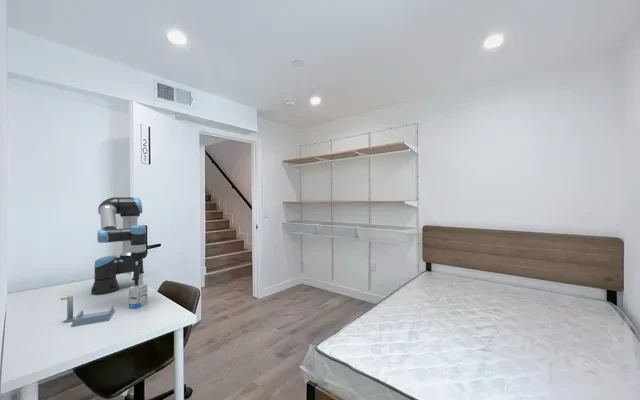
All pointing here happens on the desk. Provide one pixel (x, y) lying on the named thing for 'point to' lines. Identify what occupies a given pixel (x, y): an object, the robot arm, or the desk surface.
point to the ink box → (138, 296)
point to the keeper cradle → (86, 318)
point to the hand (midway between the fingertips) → (138, 287)
